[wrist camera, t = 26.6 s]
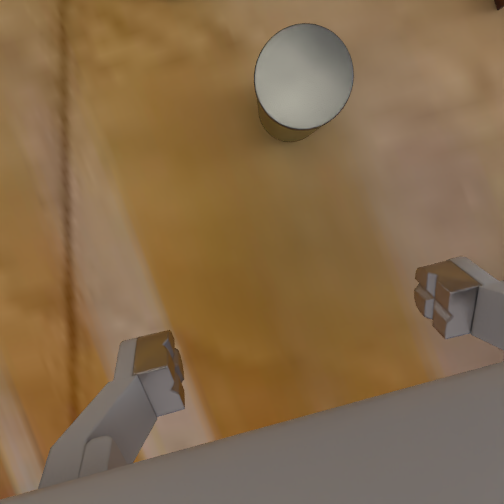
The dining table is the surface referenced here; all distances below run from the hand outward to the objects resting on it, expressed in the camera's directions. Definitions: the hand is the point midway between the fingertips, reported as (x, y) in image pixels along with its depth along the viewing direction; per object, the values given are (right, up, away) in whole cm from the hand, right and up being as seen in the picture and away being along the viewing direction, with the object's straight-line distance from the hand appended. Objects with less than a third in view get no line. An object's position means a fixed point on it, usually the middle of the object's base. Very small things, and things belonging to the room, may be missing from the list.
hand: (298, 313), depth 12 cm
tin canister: (+2, +14, +21) cm, 25 cm away
